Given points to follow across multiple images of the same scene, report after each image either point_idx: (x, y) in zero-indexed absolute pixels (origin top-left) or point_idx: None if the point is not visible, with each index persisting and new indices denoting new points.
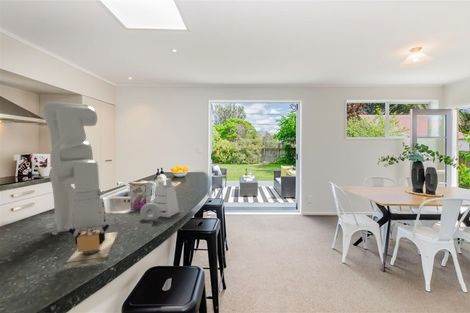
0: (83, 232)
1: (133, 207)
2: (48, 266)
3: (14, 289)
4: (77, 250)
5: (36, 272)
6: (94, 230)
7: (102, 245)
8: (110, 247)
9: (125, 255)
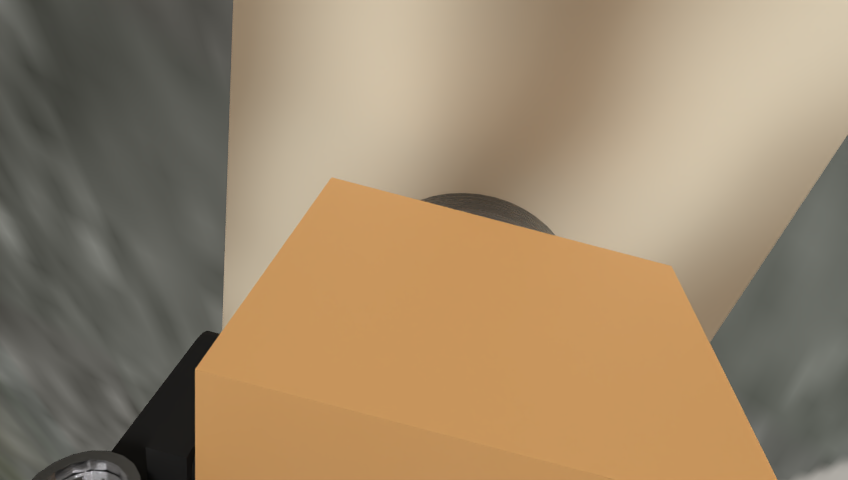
0: (241, 445)
1: None
2: (50, 245)
3: (8, 469)
4: (258, 91)
5: (4, 312)
6: (560, 474)
7: (662, 110)
8: (747, 281)
9: (820, 448)
